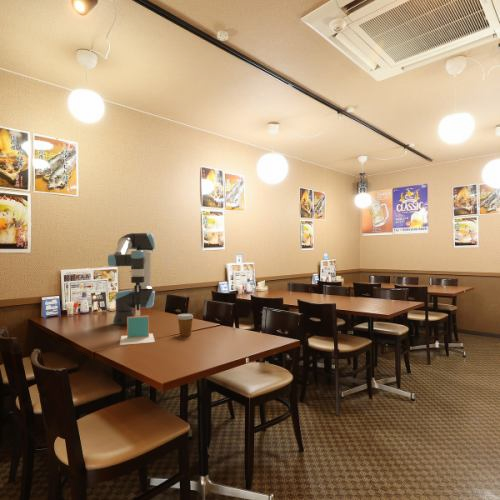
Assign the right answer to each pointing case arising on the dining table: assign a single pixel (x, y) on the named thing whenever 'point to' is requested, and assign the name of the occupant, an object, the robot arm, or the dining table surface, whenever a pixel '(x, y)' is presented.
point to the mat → (136, 340)
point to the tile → (137, 326)
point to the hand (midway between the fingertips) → (137, 315)
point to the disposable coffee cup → (185, 324)
